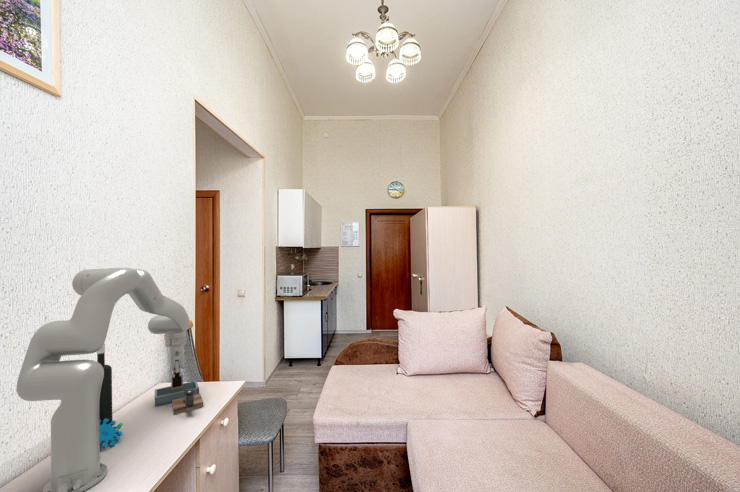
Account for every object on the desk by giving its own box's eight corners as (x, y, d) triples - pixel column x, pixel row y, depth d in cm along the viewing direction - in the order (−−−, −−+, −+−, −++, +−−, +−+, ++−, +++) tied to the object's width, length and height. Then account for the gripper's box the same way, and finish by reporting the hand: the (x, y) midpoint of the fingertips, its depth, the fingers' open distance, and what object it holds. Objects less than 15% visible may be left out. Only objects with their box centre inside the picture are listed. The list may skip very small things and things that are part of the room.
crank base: (203, 407, 127) (203, 401, 127) (173, 415, 121) (173, 409, 121) (200, 398, 135) (200, 393, 135) (172, 405, 129) (172, 399, 130)
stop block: (182, 388, 137) (182, 374, 137) (171, 391, 135) (171, 376, 135) (182, 385, 140) (181, 371, 140) (171, 388, 138) (170, 374, 138)
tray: (199, 396, 137) (198, 388, 137) (154, 407, 129) (154, 398, 129) (196, 388, 146) (196, 380, 146) (154, 397, 137) (154, 389, 137)
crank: (182, 400, 128) (181, 382, 129) (192, 397, 130) (192, 379, 131) (184, 412, 117) (184, 393, 118) (195, 409, 119) (195, 390, 120)
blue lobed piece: (98, 450, 97) (82, 423, 99) (85, 465, 97) (70, 437, 99) (132, 435, 107) (117, 411, 110) (120, 448, 107) (105, 424, 110)
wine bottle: (106, 434, 109) (105, 344, 110) (86, 437, 108) (85, 346, 109) (115, 425, 115) (114, 340, 116) (96, 428, 113) (96, 341, 114)
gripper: (187, 343, 133) (188, 388, 133) (184, 336, 147) (185, 377, 146) (166, 347, 129) (167, 393, 128) (165, 339, 143) (165, 381, 142)
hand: (176, 384), depth 137 cm, fingers closed on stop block, 4 cm apart
